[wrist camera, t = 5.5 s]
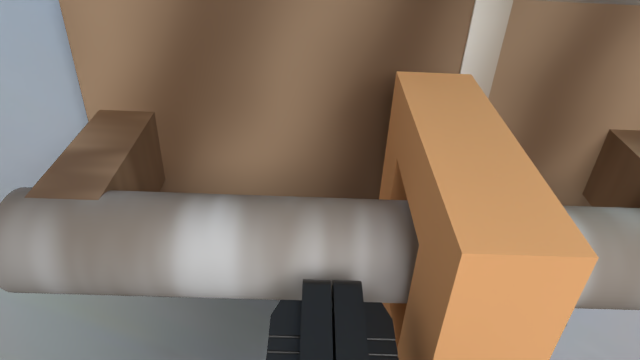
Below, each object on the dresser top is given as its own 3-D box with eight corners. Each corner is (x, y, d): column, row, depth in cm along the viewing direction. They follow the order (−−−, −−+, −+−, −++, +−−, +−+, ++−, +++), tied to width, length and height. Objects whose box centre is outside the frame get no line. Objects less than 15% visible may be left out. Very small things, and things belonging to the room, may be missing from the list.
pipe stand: (706, -2, 17) (981, 101, 10) (587, 252, 24) (702, 424, 17) (73, -31, 17) (-113, 56, 9) (133, 238, 23) (50, 410, 16)
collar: (471, 74, 16) (598, 257, 8) (428, 259, 20) (490, 481, 13) (396, 71, 15) (462, 253, 8) (370, 258, 20) (399, 480, 13)
